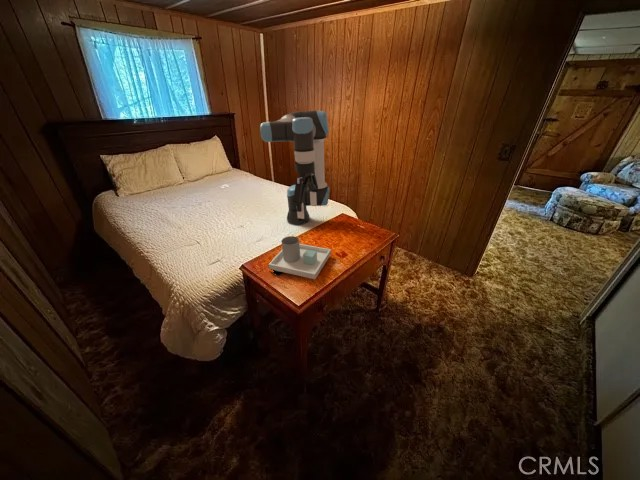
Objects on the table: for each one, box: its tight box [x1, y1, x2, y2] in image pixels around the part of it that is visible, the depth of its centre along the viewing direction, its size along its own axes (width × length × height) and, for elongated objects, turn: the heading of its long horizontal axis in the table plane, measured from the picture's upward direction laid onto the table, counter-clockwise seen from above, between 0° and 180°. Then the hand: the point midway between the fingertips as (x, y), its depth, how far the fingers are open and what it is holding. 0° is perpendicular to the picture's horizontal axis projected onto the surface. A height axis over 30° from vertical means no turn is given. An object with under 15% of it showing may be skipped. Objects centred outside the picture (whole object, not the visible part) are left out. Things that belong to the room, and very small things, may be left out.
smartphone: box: [272, 270, 285, 277], centre depth 123 cm, size 7×1×15 cm
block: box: [303, 250, 317, 266], centre depth 121 cm, size 5×5×5 cm
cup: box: [281, 235, 300, 263], centre depth 123 cm, size 8×8×10 cm
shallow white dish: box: [268, 243, 332, 280], centre depth 124 cm, size 22×24×4 cm
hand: (307, 211), depth 109 cm, fingers open, 13 cm apart
